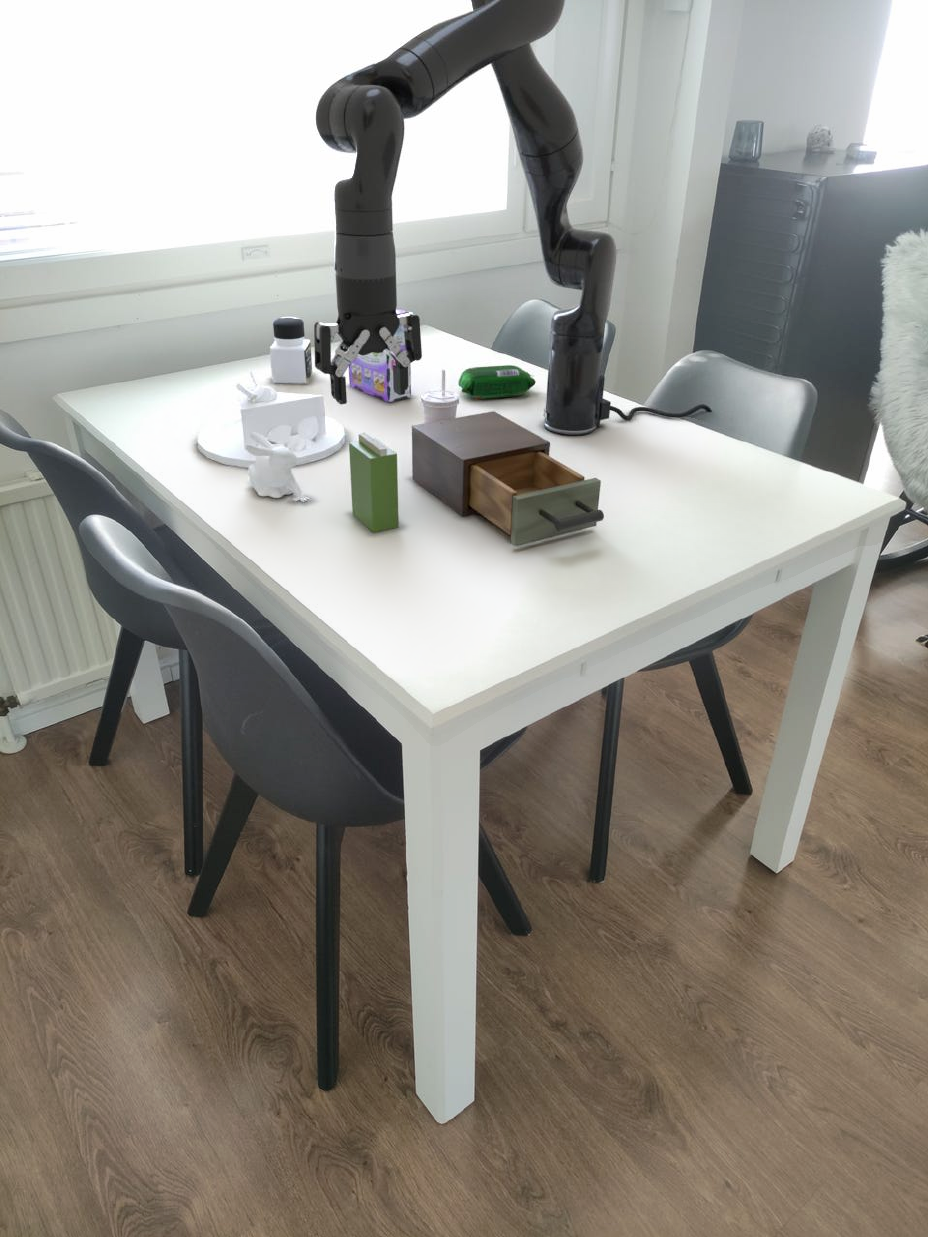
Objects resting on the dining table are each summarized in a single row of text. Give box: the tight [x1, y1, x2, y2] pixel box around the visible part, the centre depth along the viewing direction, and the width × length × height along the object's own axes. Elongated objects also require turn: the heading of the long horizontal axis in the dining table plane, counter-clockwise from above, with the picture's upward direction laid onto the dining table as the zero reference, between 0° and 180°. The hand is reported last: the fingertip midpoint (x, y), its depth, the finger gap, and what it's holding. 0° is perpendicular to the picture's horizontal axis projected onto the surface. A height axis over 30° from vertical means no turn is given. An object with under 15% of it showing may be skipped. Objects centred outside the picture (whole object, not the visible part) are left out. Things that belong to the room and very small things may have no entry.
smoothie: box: [419, 369, 460, 423], centre depth 151 cm, size 6×6×14 cm
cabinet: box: [411, 410, 551, 518], centre depth 139 cm, size 16×15×9 cm
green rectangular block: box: [348, 432, 400, 534], centre depth 128 cm, size 7×4×12 cm, turn 30°
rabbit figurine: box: [246, 432, 311, 503], centre depth 136 cm, size 12×8×10 cm, turn 35°
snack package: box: [458, 364, 537, 400], centre depth 180 cm, size 7×16×5 cm, turn 104°
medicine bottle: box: [269, 316, 313, 385], centre depth 185 cm, size 7×7×12 cm
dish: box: [197, 368, 346, 469], centre depth 154 cm, size 25×25×11 cm
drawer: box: [468, 450, 605, 548], centre depth 127 cm, size 20×14×7 cm
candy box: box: [348, 308, 412, 403], centre depth 177 cm, size 14×6×16 cm, turn 40°
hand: (370, 397), depth 122 cm, fingers open, 8 cm apart
